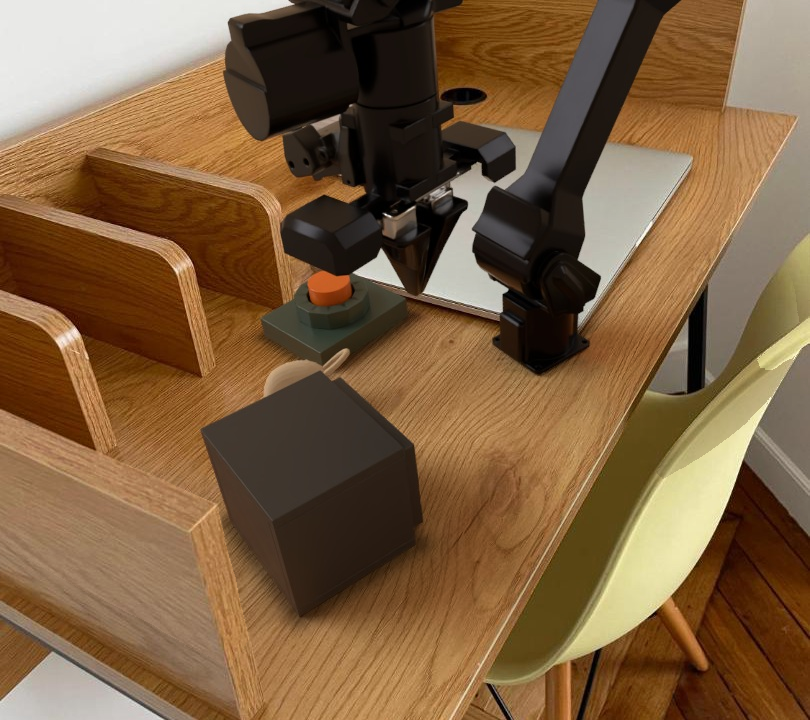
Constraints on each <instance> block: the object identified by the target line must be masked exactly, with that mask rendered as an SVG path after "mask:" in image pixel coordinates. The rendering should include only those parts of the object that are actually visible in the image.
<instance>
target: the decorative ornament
mask: <svg viewBox="0 0 810 720" xmlns="http://www.w3.org/2000/svg"><path fill="white" fill-rule="evenodd" d="M349 354H350V350H349V349H347V348H346V349H343V350H341V351H340V352H338V353H337V354H336V355H335V356H333V357H332V358H331V359H330V360H329V361H328V362H327V363H326V364H325V365H324V366H323V367H322V366H321V365H319V364H317V363H316V362H312V361H308V360H307V359H306V360H304V359H300V360H298V359H295V360H294V361H289V362H288V361H286V362H285V363H283V364H278V366H277V367H275V368H274V369H271V372H270V373H269V374H268V376H267V378H266V380H265V384H264V387H263V398H264V397H266V396H268V395H271V394H273V393H275V392H277V391H279V390H281V389H283V388H285V387H287V386H289V385H291V384H293V383H295V382H297V381H299V380H301V379H303V378H305V377H307V376H309V375H311V374H313V373H315V372H317V371H320V370H321V371H322V372H323V373H324V374H325V375H326V376H327V377H328V378H329V379H330V380H331V381H332V379H331V375H332V374H333V373H334V372H335V371H336V370H337V369H338V368H339V367H341V365H342V364H343V363H344V362H346V360H347V359H348V358H349V356H350V355H349Z"/></svg>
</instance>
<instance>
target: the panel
mask: <svg viewBox="0 0 810 720" xmlns="http://www.w3.org/2000/svg"><path fill="white" fill-rule="evenodd" d="M349 277H350V283H351V289H352V296H351V298H350V299H349V300H347V301H345V302H344V303H342V304H338V305H334V306H330V307H326V306H316V305H314V304H313V303H312V302H311V300H310V295H309V289H308V280H307V281H305V282H303V283H301V284H300V285H299V286H298V288H297V289H296V291H295V293H294V294H293V298H292V299H291V300H289V301H287V302H285V303H284V304H282V305H280V306H279V307H276V308H275V309H273V310H272V311H269V312H268V313H266V314H265V315H263V316H262V317H260V322H261V323H260V324H261V327H262V330H263V331H262V332H263V335H264V337H265V338H267V339H268V340H270V341H272V342H274V343H275V344H277V345H279V346H280V347H282V348H284V349H285V350H287V351H288V352H290V353H292V354H294V355H295V356H297V357H298V358H300V359H301V360H306V359H307V360H308V361H312V362H316V363H317V364H319V365H321V366H322V367H323V366H324V365H325V364H326V363H327V362H328V361H329V360H330V359H331V358H332V357H333V356H335V355H336V354H337V353H338V352H340V351H341V350H343V349H346V348H347V349H349V350H350V354H349V356H351V355H352V354H354V353H355V352H357V351H358V350H360V349H361V348H362V347H364V346H366V345H368V344H369V343H371V342H372V341H374V340H375V339H376V338H378V337H380V336H381V335H382V334H384V333H386V332H388V330H390V329H391V328H393V327H394V326H396V325H398V324H399V323H401V322H402V321H404V320H405V319H408V317H409V311H408V303H407V298H406V297H404V296H402V295H399V294H398V293H396V292H393V291H391V290H389V289H388V288H385V287H383V286H381V285H379V284H377V283H375V282H373V281H371V280H368V279H366V278H365V277H362V276H360V275H358V274H356V273H355V272H353V273H351V274H350V275H349Z"/></svg>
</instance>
